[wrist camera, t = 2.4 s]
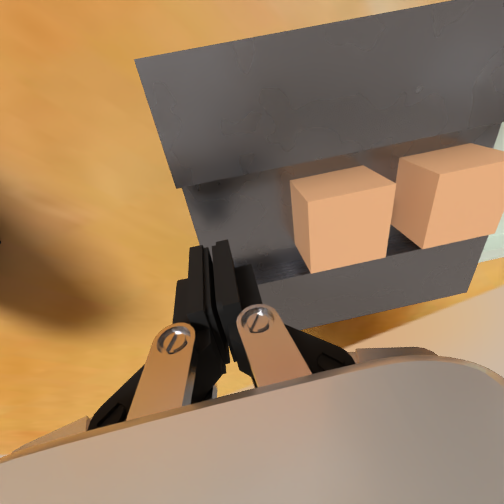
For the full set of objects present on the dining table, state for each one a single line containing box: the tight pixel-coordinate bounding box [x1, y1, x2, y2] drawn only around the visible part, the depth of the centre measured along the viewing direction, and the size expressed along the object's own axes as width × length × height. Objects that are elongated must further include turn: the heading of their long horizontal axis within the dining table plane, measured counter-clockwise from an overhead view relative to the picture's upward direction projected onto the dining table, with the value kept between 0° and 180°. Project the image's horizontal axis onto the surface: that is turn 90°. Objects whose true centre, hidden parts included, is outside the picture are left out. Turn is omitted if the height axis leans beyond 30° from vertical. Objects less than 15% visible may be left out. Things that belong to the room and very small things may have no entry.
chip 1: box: [290, 165, 396, 274], centre depth 14 cm, size 4×4×3 cm
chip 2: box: [391, 143, 504, 249], centre depth 14 cm, size 4×4×3 cm
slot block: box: [134, 0, 504, 346], centre depth 16 cm, size 17×16×4 cm
